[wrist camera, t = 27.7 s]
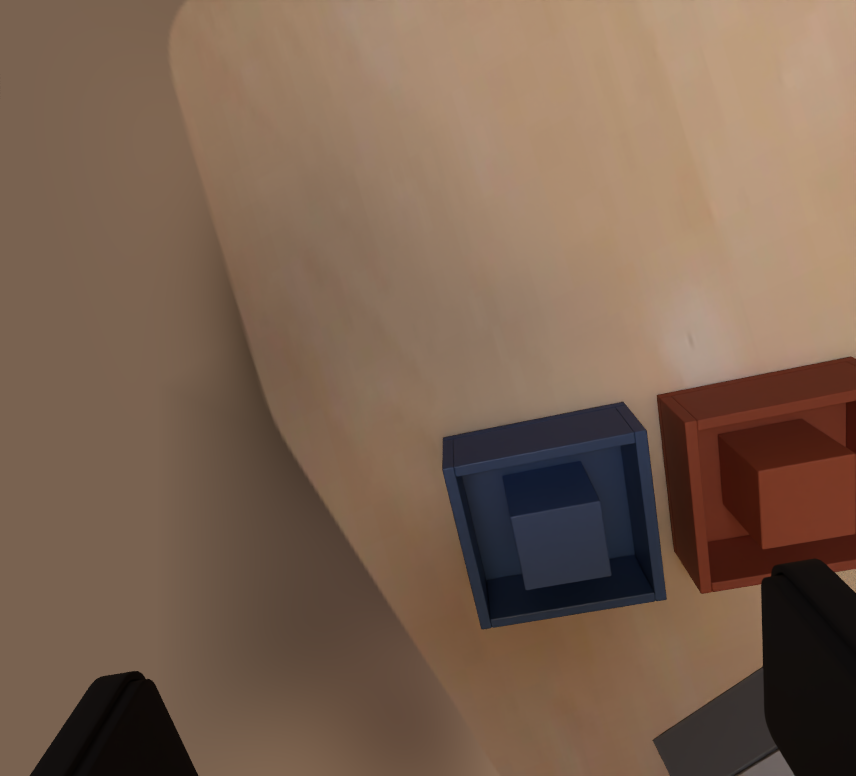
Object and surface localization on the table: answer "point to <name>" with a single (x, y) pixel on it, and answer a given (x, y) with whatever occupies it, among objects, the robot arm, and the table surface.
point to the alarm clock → (725, 737)
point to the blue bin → (614, 484)
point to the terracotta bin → (701, 476)
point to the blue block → (557, 525)
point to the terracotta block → (788, 483)
